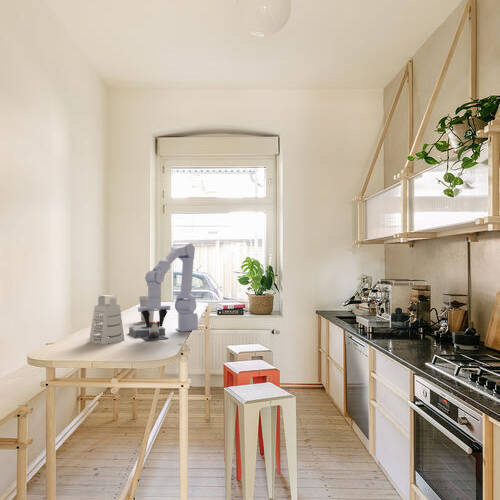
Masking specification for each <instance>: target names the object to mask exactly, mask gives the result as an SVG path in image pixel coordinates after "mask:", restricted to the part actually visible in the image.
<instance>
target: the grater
mask: <svg viewBox="0 0 500 500" xmlns="http://www.w3.org/2000/svg"><path fill="white" fill-rule="evenodd" d="M106 297H108V299H109V303H106ZM121 312H122V311H121V305H120V304H117V296H116V295H112V294H111V295H110V294H104V295H103V294H102V295H99V296H98V300H97V305H94V308H93V316H92V321H91V322H92V323H91V328H90V334H89V340H88V342H89V343H93V342H94V343H95V344H99V343H101V345H109V344H108V343H110V344H113V343H112V342H115V343H118V342H117V341H119V342H124V341H125V333H124V328H123V327H124V326H123V320H122V313H121ZM108 337H109V338H108ZM100 339H101V340H100ZM123 340H124V341H123ZM94 343H93V344H94Z"/></svg>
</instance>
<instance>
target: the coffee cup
mask: <svg viewBox="0 0 500 500" xmlns="http://www.w3.org/2000/svg"><path fill="white" fill-rule="evenodd" d="M138 300H139V307H146V306H148V294H140V295H139V297H138ZM151 310H155V309H151ZM148 312H149V313H150V316H149V321H154V317H155V316H154V314H155V311H148ZM140 321H141V323H146V322H145V319H144V316H143V314H142V312H140Z"/></svg>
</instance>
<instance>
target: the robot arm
mask: <svg viewBox="0 0 500 500" xmlns="http://www.w3.org/2000/svg"><path fill="white" fill-rule="evenodd" d="M195 251H196V248H195V245H193V243H192V242H181V243H179V242H175V243H173V245H171V250H170V251H169V253H168V255H167V256H166V257H165V259H161V260H159V261H158V263H156V265H155V266H154V267H153V269H152V270H148V272H146V274H145V275H146V276H145V278H144V279H145V281H146V286H147V295H148V306H146V307H140V306H138V307H137V310H138V311H137V312H138V313H141V312H142V314H143V316H144V319H145V322H144V323H145V326H146V327H147V328H149V316H150V313H149V312H148V311H154V312H157V311H158V316H159V326H161V327H163V324H164V322H165V317H166V315H167V314H168V311H171V305H162V283H163V282H164V280H165V279H164V278H165V276H166V274H167V273H168V272H169V270H170V269H171V265H172V264H173V262H174V261H175V260H177V258H178V259H179V260H180V261H181V263H182V268H181V269H182V270H181V271H182V273H181V282H180V283H181V284H180V285H181V286H180V293H179V294H178V295H176V299H175V302H174V309H175V310H176V312H177V315H178V316H177V317H178V318H177V320H178V321H177V323H178V324H177V325H178V326H177V328H176V327H175V331H176V330H177V331H179V332H190V331H199V328H198V327H199V319H198V318H199V317H198V312H196V309H197V302H196V299H197V298H196V296H195V295H194V294H193V293H192V287H193V285H192V284H193V271H194V259H195V253H196V252H195ZM151 309H154V310H151Z"/></svg>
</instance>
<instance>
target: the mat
mask: <svg viewBox="0 0 500 500" xmlns="http://www.w3.org/2000/svg"><path fill="white" fill-rule="evenodd" d="M140 338H141V339H143V340H144V341H146V342H154V341H163V340H169V338H168V337H167V336H165V335H159V337H158V338H149V337H148V336H143V337H140Z"/></svg>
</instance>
